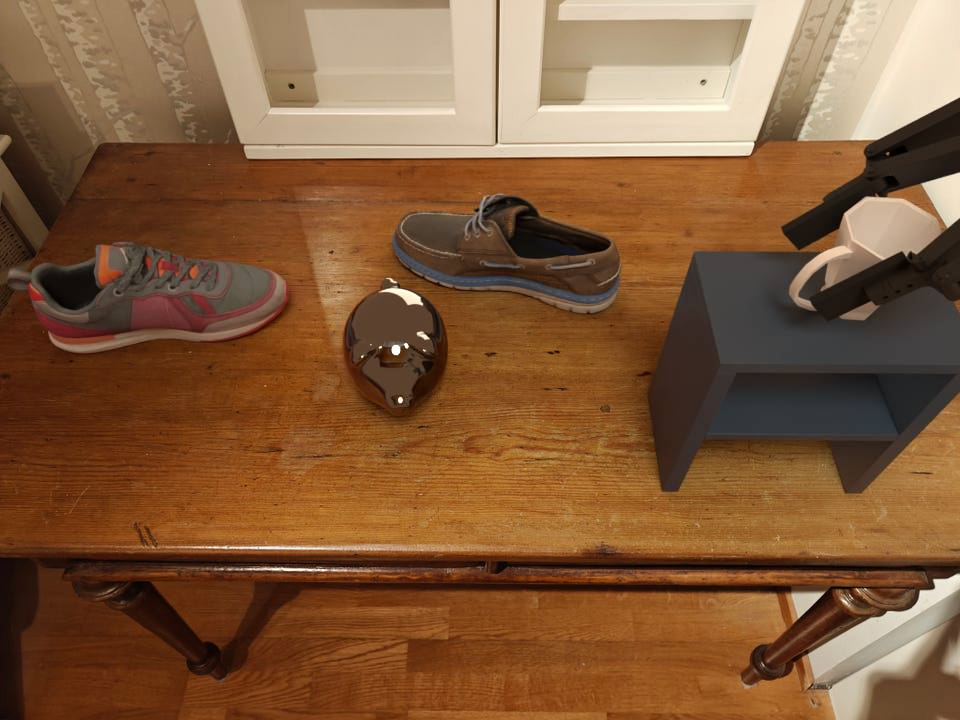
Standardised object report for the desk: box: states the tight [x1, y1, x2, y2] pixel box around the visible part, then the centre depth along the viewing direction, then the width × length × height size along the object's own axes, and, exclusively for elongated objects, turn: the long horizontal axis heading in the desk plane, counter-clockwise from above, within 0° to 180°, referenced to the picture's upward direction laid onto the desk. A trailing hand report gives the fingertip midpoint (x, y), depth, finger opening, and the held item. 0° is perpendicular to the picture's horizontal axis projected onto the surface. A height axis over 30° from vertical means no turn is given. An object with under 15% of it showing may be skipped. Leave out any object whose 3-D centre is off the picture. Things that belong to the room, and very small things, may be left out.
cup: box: [789, 196, 943, 320], centre depth 53 cm, size 7×10×8 cm
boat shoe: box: [391, 193, 622, 315], centre depth 85 cm, size 10×29×11 cm, turn 74°
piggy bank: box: [341, 277, 449, 417], centre depth 74 cm, size 11×15×12 cm
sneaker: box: [6, 240, 290, 355], centre depth 80 cm, size 10×28×12 cm, turn 102°
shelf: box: [646, 250, 960, 494], centre depth 65 cm, size 20×12×22 cm, turn 89°
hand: (804, 272), depth 53 cm, fingers closed on cup, 7 cm apart
